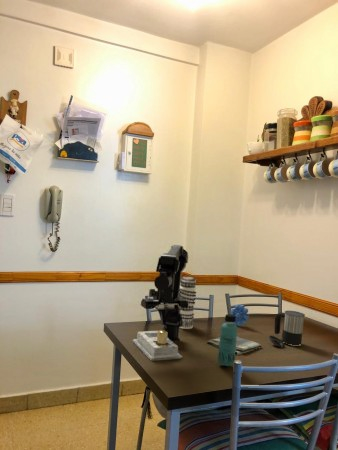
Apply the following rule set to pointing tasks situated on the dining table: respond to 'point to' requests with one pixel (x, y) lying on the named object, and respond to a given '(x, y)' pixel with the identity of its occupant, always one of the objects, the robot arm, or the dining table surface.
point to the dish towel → (238, 345)
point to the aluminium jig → (156, 347)
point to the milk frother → (289, 328)
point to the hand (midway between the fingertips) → (163, 324)
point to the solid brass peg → (162, 338)
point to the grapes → (240, 314)
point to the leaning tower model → (188, 294)
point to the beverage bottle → (228, 341)
